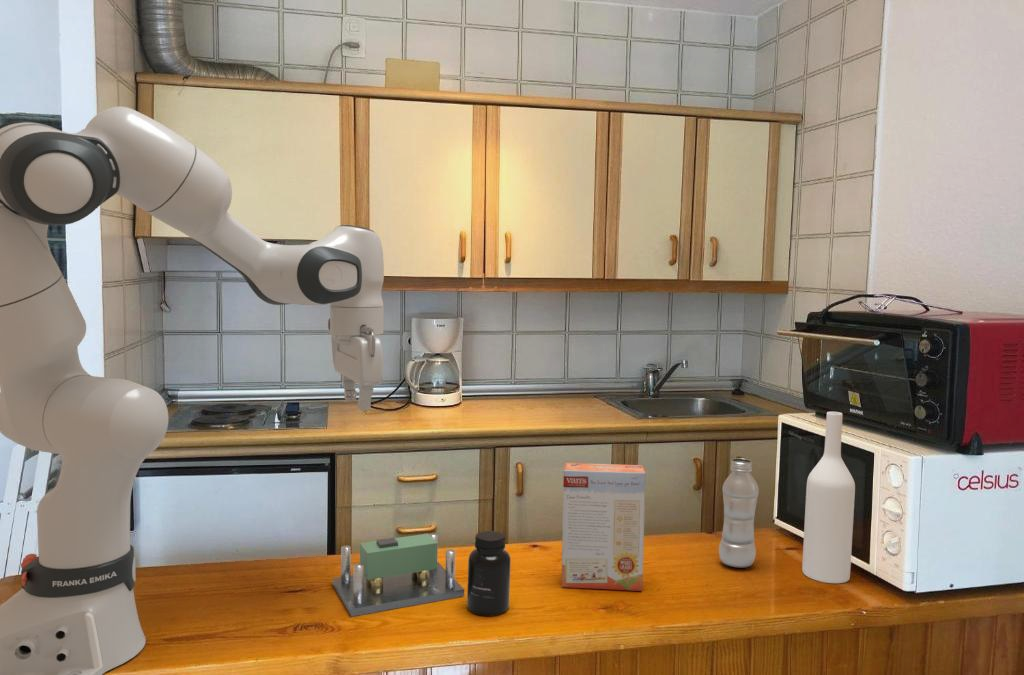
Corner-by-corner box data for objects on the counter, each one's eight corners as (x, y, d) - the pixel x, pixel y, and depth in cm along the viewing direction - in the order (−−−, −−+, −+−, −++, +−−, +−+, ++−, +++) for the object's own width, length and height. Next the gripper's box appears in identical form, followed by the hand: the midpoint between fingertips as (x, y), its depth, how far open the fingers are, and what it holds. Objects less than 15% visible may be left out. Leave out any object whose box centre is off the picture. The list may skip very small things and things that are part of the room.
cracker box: (640, 578, 134) (644, 463, 132) (642, 593, 128) (646, 472, 126) (561, 574, 135) (564, 460, 134) (560, 588, 129) (563, 469, 128)
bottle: (855, 585, 133) (865, 418, 130) (807, 582, 134) (816, 415, 131) (843, 568, 141) (852, 409, 138) (797, 564, 142) (805, 407, 139)
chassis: (351, 616, 117) (351, 572, 117) (333, 585, 129) (332, 544, 128) (464, 596, 126) (464, 554, 125) (437, 568, 137) (438, 529, 137)
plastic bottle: (711, 560, 143) (715, 457, 141) (742, 557, 145) (746, 455, 144) (730, 573, 137) (735, 466, 135) (762, 570, 139) (767, 463, 137)
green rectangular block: (427, 558, 132) (427, 530, 132) (437, 568, 127) (437, 539, 127) (359, 569, 127) (359, 539, 126) (367, 580, 122) (367, 549, 122)
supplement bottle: (472, 619, 117) (473, 544, 116) (463, 600, 124) (464, 529, 123) (514, 614, 119) (516, 541, 118) (503, 596, 126) (504, 526, 125)
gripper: (393, 327, 119) (392, 414, 120) (360, 319, 137) (360, 394, 138) (353, 328, 116) (353, 417, 117) (325, 320, 134) (326, 396, 135)
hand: (357, 404), depth 128 cm, fingers open, 8 cm apart
